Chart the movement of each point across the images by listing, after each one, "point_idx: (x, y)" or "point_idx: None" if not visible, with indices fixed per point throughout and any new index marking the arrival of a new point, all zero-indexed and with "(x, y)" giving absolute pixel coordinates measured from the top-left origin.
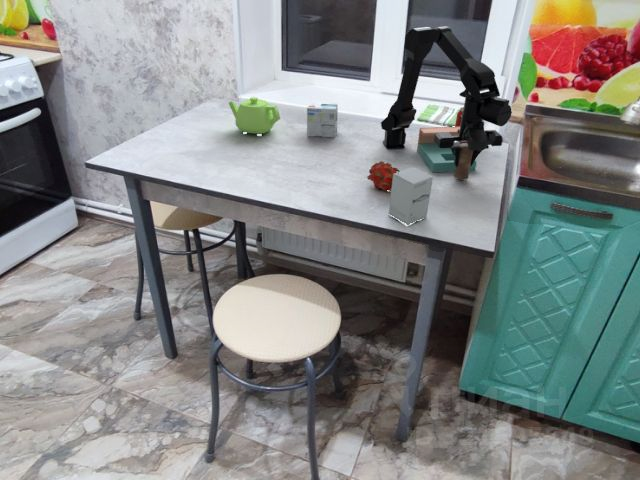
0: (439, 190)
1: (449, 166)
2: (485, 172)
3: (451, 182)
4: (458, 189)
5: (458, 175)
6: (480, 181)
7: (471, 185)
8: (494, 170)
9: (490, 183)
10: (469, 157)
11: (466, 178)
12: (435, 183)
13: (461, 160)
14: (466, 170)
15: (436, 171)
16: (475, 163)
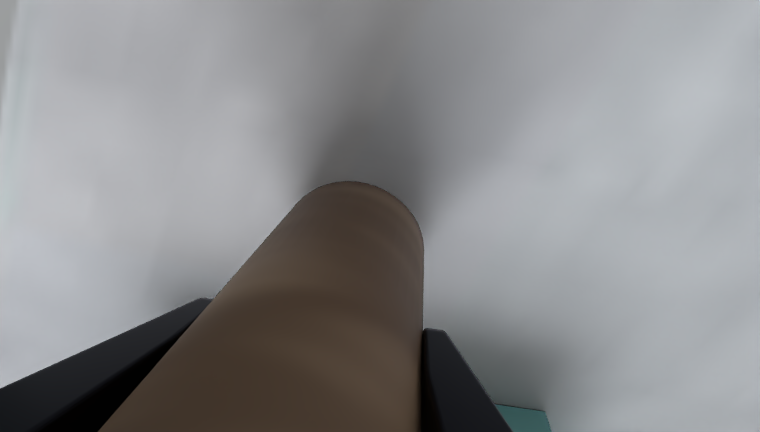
0: (741, 42)
1: None
2: (90, 302)
3: (476, 201)
4: (488, 23)
5: (409, 229)
6: (175, 159)
7: (295, 93)
8: (12, 314)
9: (86, 97)
10: (175, 406)
11: (315, 190)
12: (661, 217)
13: (390, 387)
14: (310, 226)
15: (505, 408)
16: None
